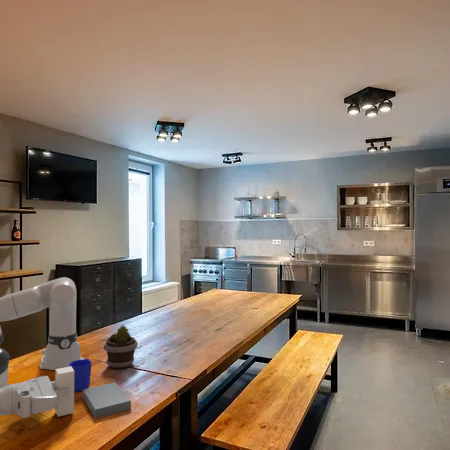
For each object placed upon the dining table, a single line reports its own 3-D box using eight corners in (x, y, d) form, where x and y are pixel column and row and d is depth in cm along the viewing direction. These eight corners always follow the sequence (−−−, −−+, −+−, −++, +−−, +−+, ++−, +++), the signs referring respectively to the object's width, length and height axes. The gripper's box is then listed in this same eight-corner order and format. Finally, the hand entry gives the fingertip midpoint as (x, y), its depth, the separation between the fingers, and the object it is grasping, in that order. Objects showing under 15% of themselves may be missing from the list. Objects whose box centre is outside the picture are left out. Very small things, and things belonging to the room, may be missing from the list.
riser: (82, 397, 139) (82, 389, 139) (114, 390, 145) (115, 382, 145) (95, 418, 124) (95, 409, 124) (130, 409, 130) (130, 400, 130)
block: (55, 410, 127) (55, 369, 127) (70, 406, 130) (71, 366, 130) (57, 416, 123) (58, 374, 123) (73, 412, 126) (74, 371, 126)
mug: (97, 380, 154) (97, 355, 154) (87, 393, 142) (87, 366, 142) (76, 380, 154) (77, 356, 154) (65, 393, 142) (65, 367, 142)
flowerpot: (102, 362, 175) (102, 319, 175) (135, 358, 180) (136, 316, 180) (103, 373, 161) (104, 327, 161) (139, 369, 167) (140, 324, 167)
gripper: (18, 394, 128) (61, 385, 136) (24, 420, 111) (73, 408, 119) (18, 376, 128) (61, 367, 136) (24, 399, 111) (74, 388, 119)
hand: (67, 387), depth 127 cm, fingers closed on block, 5 cm apart
